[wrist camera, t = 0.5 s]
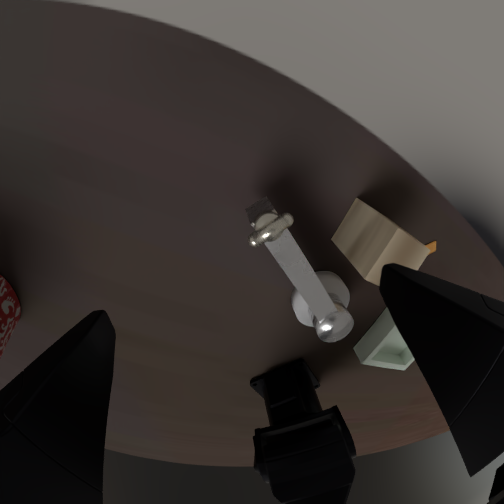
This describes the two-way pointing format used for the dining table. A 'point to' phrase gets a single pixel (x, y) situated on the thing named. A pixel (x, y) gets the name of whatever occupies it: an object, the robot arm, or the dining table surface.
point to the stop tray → (384, 345)
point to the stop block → (376, 242)
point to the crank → (298, 270)
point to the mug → (7, 312)
